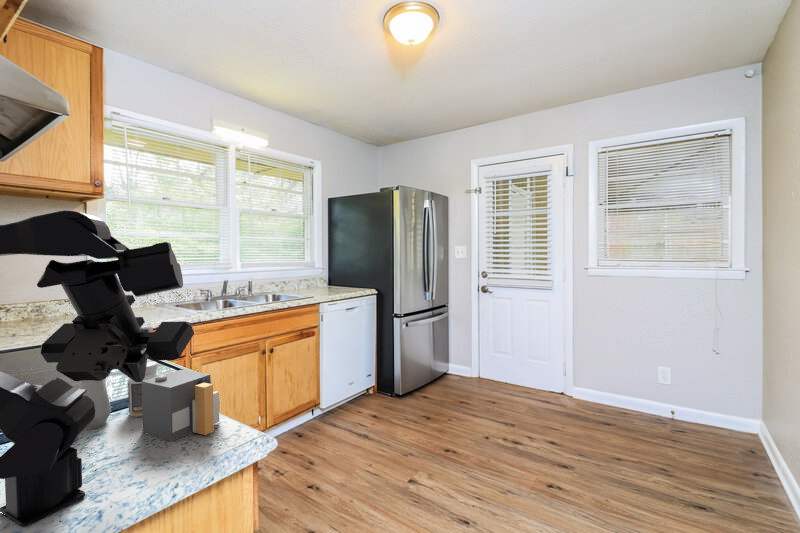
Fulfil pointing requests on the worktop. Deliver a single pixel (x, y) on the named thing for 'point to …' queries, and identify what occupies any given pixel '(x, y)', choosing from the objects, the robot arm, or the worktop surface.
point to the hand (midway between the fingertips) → (140, 380)
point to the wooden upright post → (205, 408)
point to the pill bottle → (139, 390)
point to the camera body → (170, 403)
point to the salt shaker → (97, 401)
